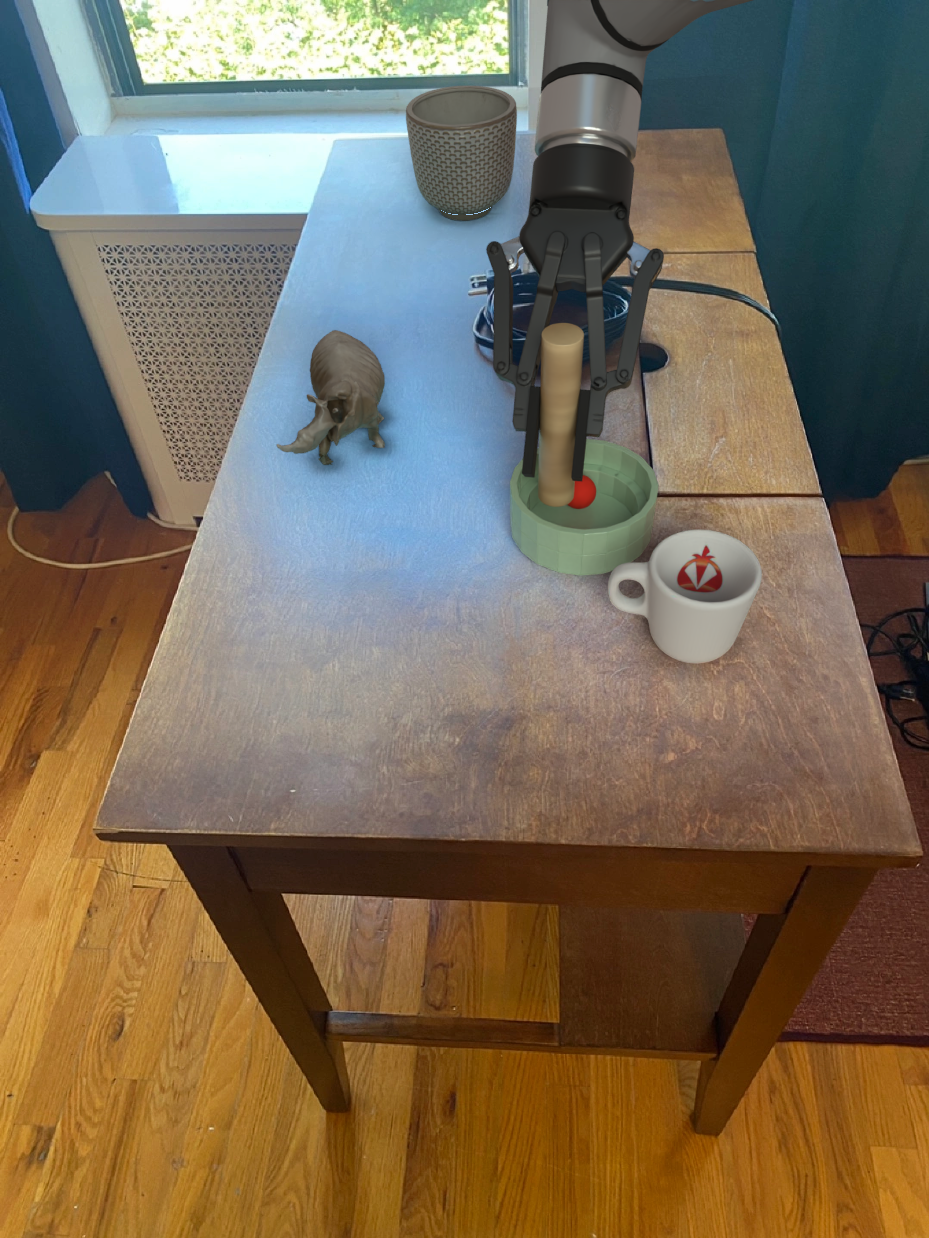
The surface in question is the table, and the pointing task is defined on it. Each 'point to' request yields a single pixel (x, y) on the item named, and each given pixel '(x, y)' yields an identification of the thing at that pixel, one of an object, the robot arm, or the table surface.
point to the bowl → (588, 514)
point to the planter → (462, 148)
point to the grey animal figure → (341, 395)
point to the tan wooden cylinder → (558, 411)
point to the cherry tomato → (583, 493)
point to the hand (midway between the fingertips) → (552, 477)
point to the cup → (692, 592)
